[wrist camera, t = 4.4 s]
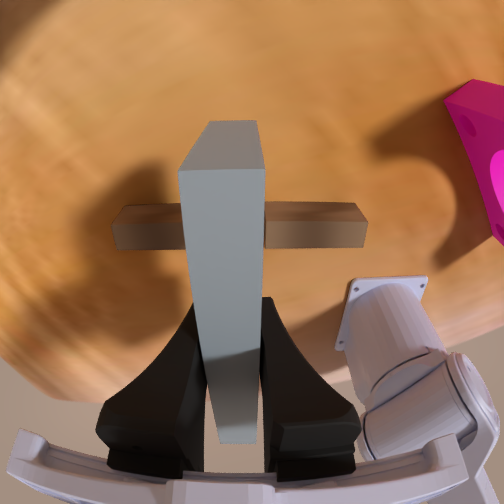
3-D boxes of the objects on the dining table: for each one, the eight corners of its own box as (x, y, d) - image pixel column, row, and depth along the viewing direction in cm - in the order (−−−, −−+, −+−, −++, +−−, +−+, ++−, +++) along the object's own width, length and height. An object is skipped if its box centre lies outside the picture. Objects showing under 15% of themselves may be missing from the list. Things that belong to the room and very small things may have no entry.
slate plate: (253, 351, 21) (256, 443, 15) (224, 351, 21) (220, 443, 15) (256, 120, 13) (264, 169, 7) (210, 121, 13) (177, 170, 7)
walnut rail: (354, 202, 22) (368, 221, 20) (351, 226, 23) (362, 247, 21) (124, 205, 22) (110, 225, 19) (129, 229, 23) (116, 250, 20)
